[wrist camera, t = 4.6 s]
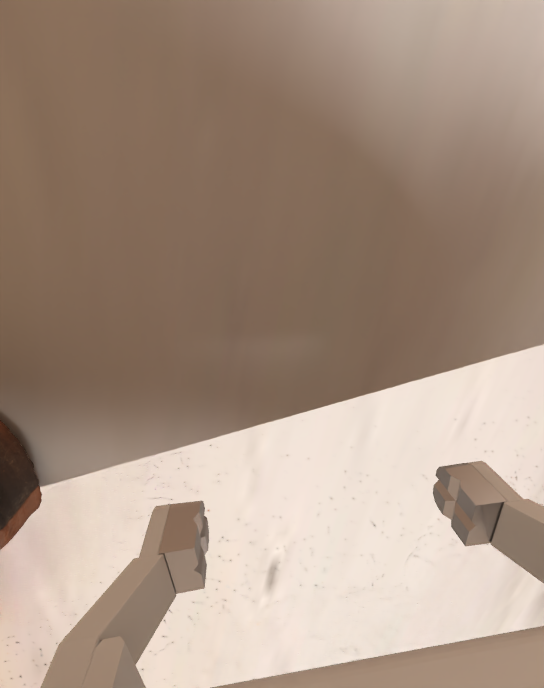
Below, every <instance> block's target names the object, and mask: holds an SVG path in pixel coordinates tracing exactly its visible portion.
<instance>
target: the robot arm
mask: <svg viewBox="0 0 544 688" xmlns="http://www.w3.org/2000/svg"><path fill="white" fill-rule="evenodd" d="M436 476H437V478H438V479H439V480H438V481H437V482H436V483H435V484H434V488H433V495H434V499H435V502H436V504H437V506H438V508H439V510H440V511H441V513H442V514H443V515H445V516H446V517H448V518H449V519H451V527H452V528H453V530H454V531H455V532H456V534H457V535H458V537H459V538H460V539H461V541H462V542H463V544H464V545H465V546H471V545H479V544H487V543H491V545H492V546H494V547H495V548H496V549H498V550H499V551H500V552H502V553H503V554H504V555H506V556H507V557H509V558H510V559H511V560H513V561H514V562H515V563H517V564H518V565H519V566H521V567H522V568H524V569H525V570H526V571H528V572H529V573H530V574H532V575H533V576H534V577H536V578H537V579H539V580H540V581H541V582H543V583H544V506H542V505H540V504H538V503H535V502H533V501H531V500H529V499H523V498H522V497H521V496H520V495H519V494H518V493H516V492H515V491H514V490H513V489H512V488H511V487H510V486H509V485H508V484H507V483H506V482H505V481H504V480H503V479H502V478H501V477H500V476H499V475H498V474H497V473H496V472H495V471H494V470H493V469H491V468H490V467H489V466H488V465H487V464H486V463H485V462H483V461H477V462H470V463H462V464H455V465H449V466H442V467H439V468H438V469H437V472H436ZM204 511H205V507H204V503H203V501H195V502H186V503H177V504H170V505H161V506H156V507H155V508H154V510H153V512H152V515H151V518H150V522H149V525H148V529H147V532H146V535H145V539H144V542H143V546H142V549H141V552H140V556H139V558H135V559H133V560H132V561H131V563H130V564H129V565H128V566H127V567H126V568H125V569H124V571H123V572H122V573H121V574H120V575H119V576H118V577H117V579H116V580H115V581H114V582H113V583H112V584H111V585H110V587H109V588H108V589H107V590H106V591H105V592H104V593H103V595H102V596H101V597H100V598H99V599H98V600H97V601H96V603H95V604H94V605H93V606H92V607H91V608H90V610H89V611H88V612H87V613H86V614H85V615H84V616H83V618H82V619H81V620H80V621H79V622H78V623H77V624H76V626H75V627H74V628H73V629H72V630H71V631H70V632H69V634H68V635H67V636H66V637H65V638H64V639H63V640H62V642H61V643H60V644H59V646H58V648H57V650H56V653H55V655H54V657H53V660H52V662H51V664H50V667H49V669H48V671H47V674H46V676H45V678H44V681H43V683H42V685H41V688H146V687H145V685H144V683H143V681H142V679H141V676H140V674H139V672H138V670H137V668H136V666H135V665H136V663H137V662H138V660H139V658H140V656H141V655H142V653H143V651H144V650H145V648H146V646H147V645H148V643H149V641H150V639H151V638H152V636H153V634H154V633H155V631H156V629H157V628H158V626H159V624H160V622H161V621H162V619H163V617H164V616H165V614H166V612H167V611H168V609H169V607H170V605H171V604H172V602H173V600H174V599H175V597H176V594H177V593H183V592H188V591H193V590H198V589H203V588H204V587H205V577H206V566H207V564H206V560H205V554H206V552H207V551H208V543H209V529H208V521H207V518H206V517H205V516H204ZM212 688H544V626H541V627H536V628H530V629H525V630H519V631H514V632H509V633H503V634H498V635H492V636H487V637H482V638H476V639H471V640H465V641H460V642H455V643H449V644H444V645H438V646H433V647H428V648H422V649H417V650H411V651H406V652H401V653H395V654H390V655H384V656H379V657H374V658H368V659H363V660H357V661H352V662H347V663H341V664H336V665H330V666H325V667H320V668H314V669H309V670H304V671H298V672H293V673H287V674H282V675H277V676H271V677H266V678H261V679H255V680H250V681H244V682H239V683H234V684H228V685H223V686H218V687H212Z"/></svg>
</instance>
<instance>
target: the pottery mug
mask: <svg viewBox="0 0 544 688" xmlns="http://www.w3.org/2000/svg"><path fill="white" fill-rule="evenodd" d="M41 496H42V494H41V492H40V487H39V485H38V479H37V477H36V475H35V473H34V469H33V463H32V462H31V461H30V459H29V458H28V457H27V454H26V452H25V449H24V448H23V446H21V444H20V442H19V440H18V439H17V438H16V437H15V436H14V435H13V434H12V433H11V432H10V430H9V428H8V427H7V426H6V425H5V424H4V423H3V422H2V421H1V420H0V549H2V548H3V547H4V546H5V545H6V544H7V543H8V542H9V541H10V540H11V539H12V538H13V537H14V535H15V534H16V533H17V532H18V531H19V529H20V528H21V527H22V526H23V524H24V523H25V522H26V520H27V519H28V517H29V516H30V515H31V514H32V513H33V512H35V511H36V510H37V509H38V508H39V506H40V503H41Z"/></svg>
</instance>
